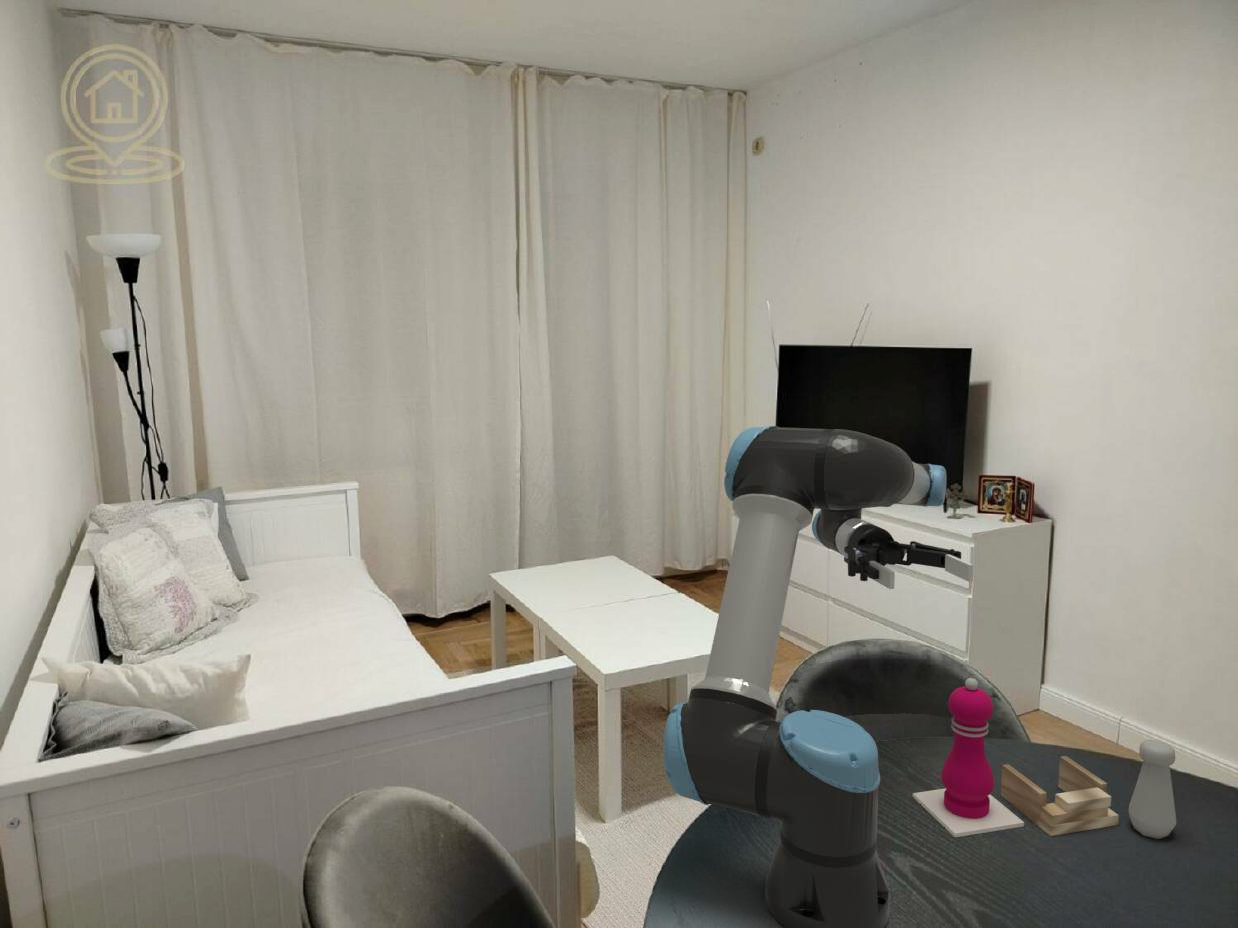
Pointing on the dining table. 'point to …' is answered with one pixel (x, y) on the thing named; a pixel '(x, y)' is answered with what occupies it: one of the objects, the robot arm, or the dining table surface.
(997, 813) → the mat
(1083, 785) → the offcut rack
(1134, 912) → the dining table surface
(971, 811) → the pepper mill
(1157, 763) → the salt shaker
